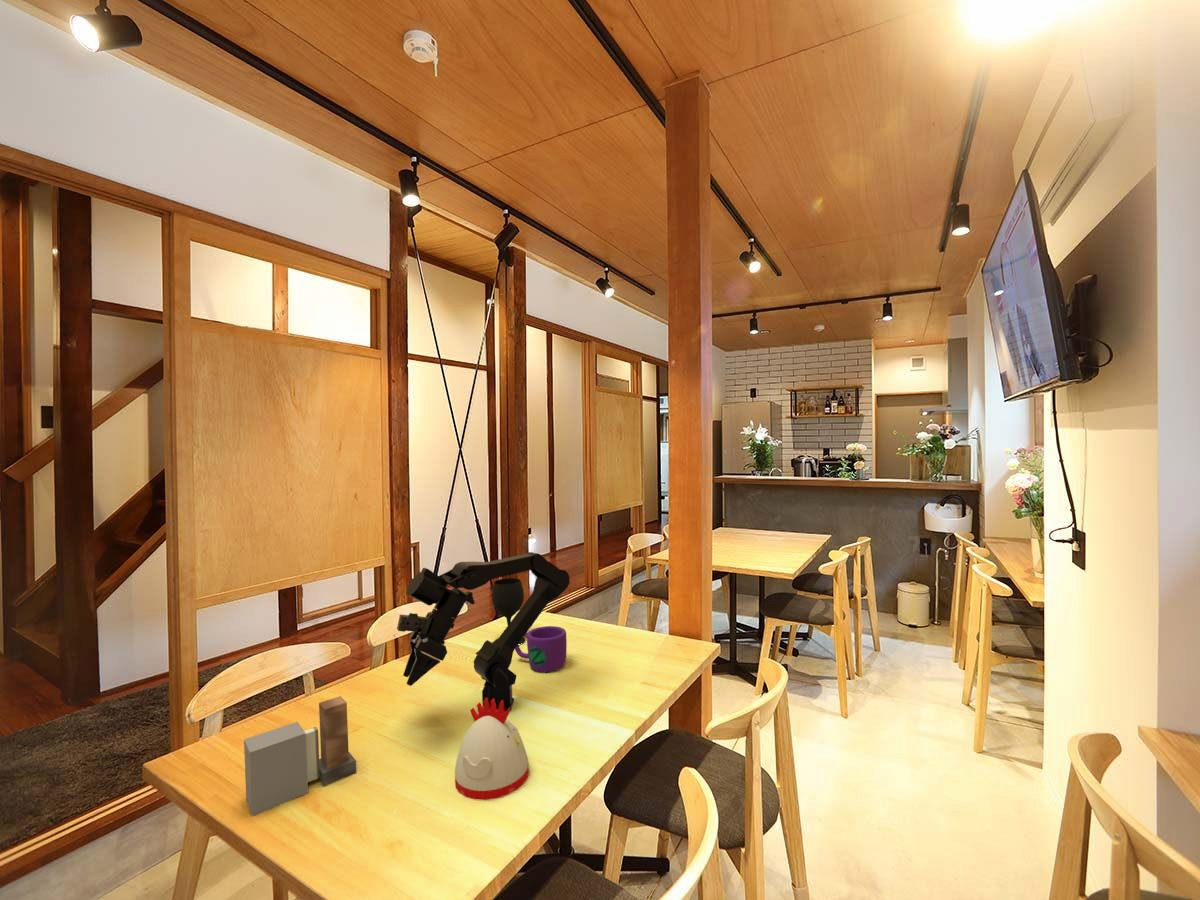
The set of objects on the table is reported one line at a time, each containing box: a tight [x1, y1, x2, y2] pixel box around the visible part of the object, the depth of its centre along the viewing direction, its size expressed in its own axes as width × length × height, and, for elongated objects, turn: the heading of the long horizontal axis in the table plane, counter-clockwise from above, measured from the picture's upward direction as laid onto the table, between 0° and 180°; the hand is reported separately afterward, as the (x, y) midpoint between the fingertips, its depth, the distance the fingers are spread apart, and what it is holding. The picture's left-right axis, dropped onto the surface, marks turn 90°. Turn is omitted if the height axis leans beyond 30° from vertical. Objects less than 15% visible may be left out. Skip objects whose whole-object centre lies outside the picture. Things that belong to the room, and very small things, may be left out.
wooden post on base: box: [317, 696, 357, 788], centre depth 106 cm, size 6×6×14 cm
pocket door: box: [304, 726, 320, 783], centre depth 101 cm, size 8×2×9 cm, turn 132°
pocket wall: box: [243, 721, 309, 817], centre depth 99 cm, size 9×6×11 cm
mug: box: [514, 625, 568, 673], centre depth 156 cm, size 17×11×10 cm, turn 63°
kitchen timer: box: [454, 697, 530, 801], centre depth 103 cm, size 14×14×15 cm
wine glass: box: [491, 577, 526, 645], centre depth 176 cm, size 10×10×20 cm
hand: (406, 680), depth 117 cm, fingers open, 9 cm apart
